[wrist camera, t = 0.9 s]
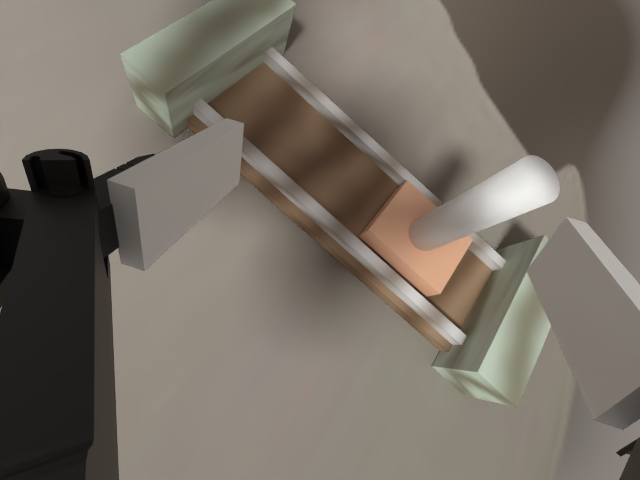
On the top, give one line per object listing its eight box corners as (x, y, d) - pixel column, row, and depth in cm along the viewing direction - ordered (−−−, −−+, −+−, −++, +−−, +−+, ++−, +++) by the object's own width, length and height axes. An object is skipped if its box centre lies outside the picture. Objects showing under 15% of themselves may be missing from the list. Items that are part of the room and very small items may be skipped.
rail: (133, 102, 35) (115, 49, 29) (250, 24, 42) (257, -32, 36) (468, 398, 38) (521, 411, 31) (526, 277, 45) (579, 267, 38)
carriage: (358, 236, 37) (461, 165, 22) (396, 189, 40) (508, 98, 25) (426, 296, 37) (572, 268, 22) (458, 245, 40) (605, 190, 25)
